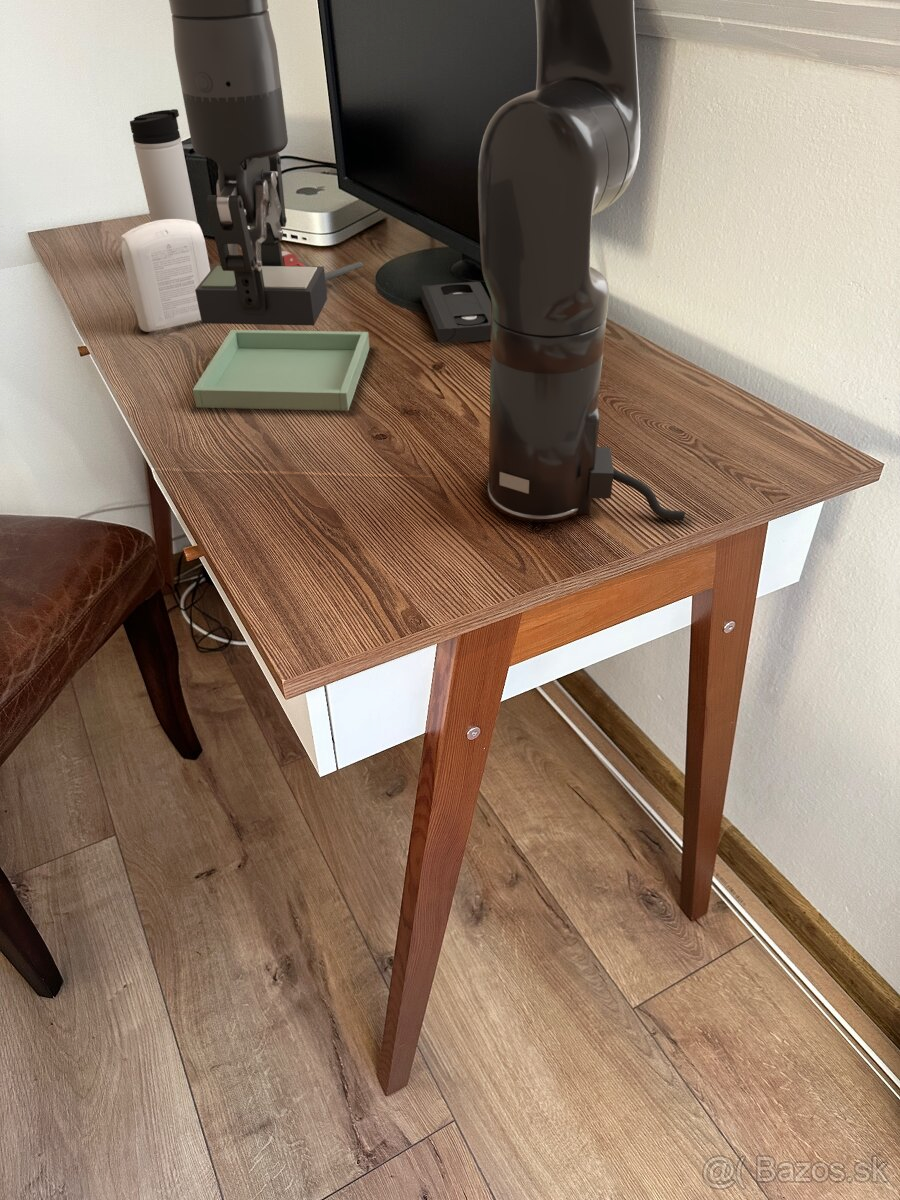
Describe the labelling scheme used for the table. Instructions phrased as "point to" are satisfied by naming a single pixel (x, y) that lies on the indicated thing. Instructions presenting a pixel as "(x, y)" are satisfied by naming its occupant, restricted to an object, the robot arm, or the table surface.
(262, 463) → the table surface
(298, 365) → the tray
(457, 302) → the vhs tape
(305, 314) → the black rectangular box
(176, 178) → the travel mug
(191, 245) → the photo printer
